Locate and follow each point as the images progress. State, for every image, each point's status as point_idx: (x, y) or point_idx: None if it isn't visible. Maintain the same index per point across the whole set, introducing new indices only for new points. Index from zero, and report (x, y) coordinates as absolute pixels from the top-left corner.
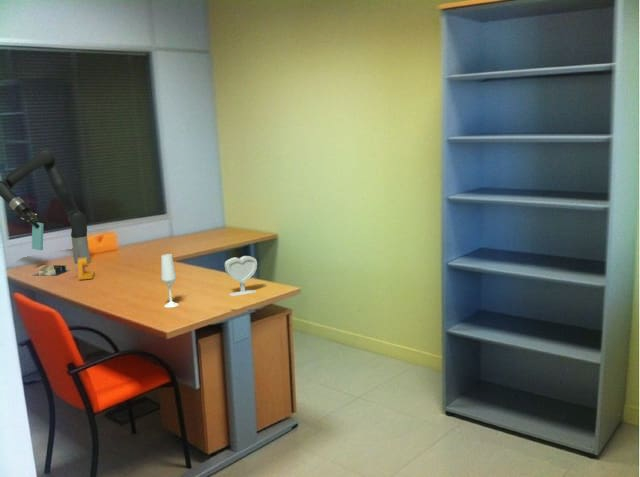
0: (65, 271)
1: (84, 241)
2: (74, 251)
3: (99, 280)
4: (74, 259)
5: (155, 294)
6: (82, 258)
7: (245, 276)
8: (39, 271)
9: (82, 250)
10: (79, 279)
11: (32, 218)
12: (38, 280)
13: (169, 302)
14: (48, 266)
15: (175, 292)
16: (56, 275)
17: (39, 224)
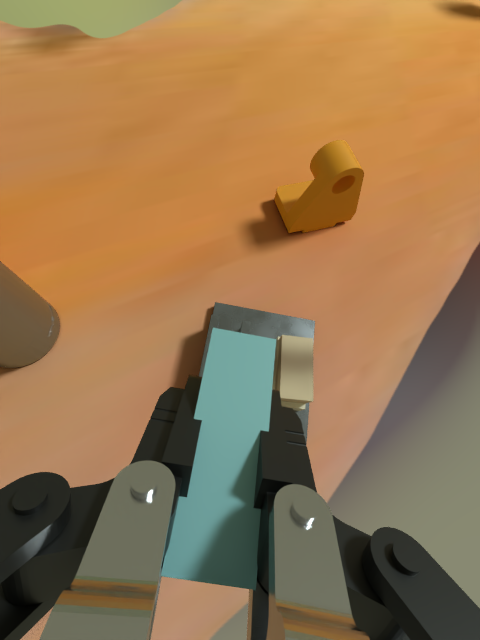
0: (234, 316)
1: None
2: (10, 325)
3: None
4: (28, 350)
5: (443, 38)
6: (350, 153)
7: None
8: (304, 405)
9: (16, 276)
10: (350, 218)
11: (298, 617)
12: (350, 383)
13: None
14: (306, 350)
15: (422, 13)
16: (304, 322)
17: (270, 378)
